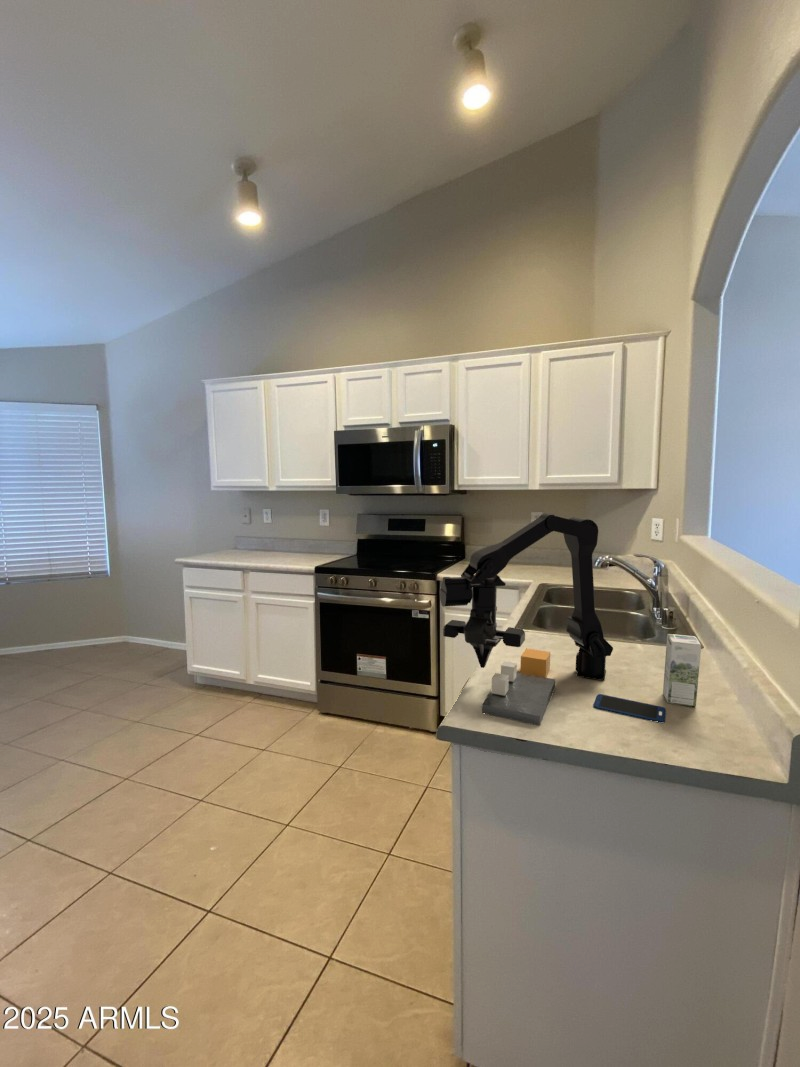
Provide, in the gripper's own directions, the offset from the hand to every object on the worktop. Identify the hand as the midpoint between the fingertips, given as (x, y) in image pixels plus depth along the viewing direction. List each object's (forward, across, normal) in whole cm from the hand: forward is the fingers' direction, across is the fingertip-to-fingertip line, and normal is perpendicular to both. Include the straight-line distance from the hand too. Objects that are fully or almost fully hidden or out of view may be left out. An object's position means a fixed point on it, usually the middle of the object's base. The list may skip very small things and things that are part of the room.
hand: (482, 667), depth 120 cm
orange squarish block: (+4, +10, +12) cm, 16 cm away
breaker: (+2, +6, -8) cm, 10 cm away
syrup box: (+4, +42, +10) cm, 44 cm away
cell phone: (+5, +32, +1) cm, 33 cm away
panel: (+4, +10, -5) cm, 12 cm away
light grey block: (+2, +6, 0) cm, 7 cm away
